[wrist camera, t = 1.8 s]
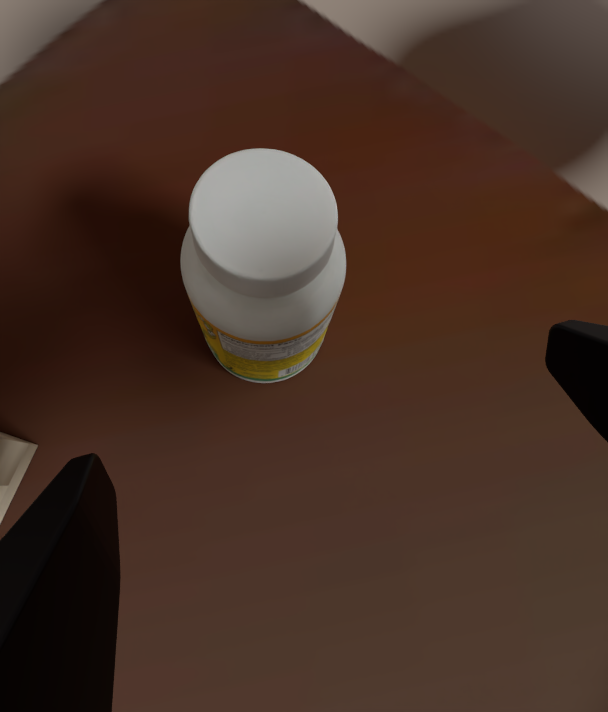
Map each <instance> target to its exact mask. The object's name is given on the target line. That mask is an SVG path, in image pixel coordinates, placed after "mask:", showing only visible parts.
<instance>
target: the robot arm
mask: <svg viewBox="0 0 608 712" xmlns="http://www.w3.org/2000/svg"><path fill="white" fill-rule="evenodd" d="M545 362H546V366H547V368H548V370H549V372H550V373H551V374H552V376H553V377H554V378H555V380H556V381H557V382H558V383H559V385H560V386H561V387H562V388H563V390H564V391H565V392H566V393H567V395H568V396H569V397H570V399H571V400H572V401H573V402H574V404H575V405H576V406H577V407H578V409H579V410H580V411H581V413H582V414H583V415H584V416H585V418H586V419H587V420H588V421H589V422H590V424H591V425H592V426H593V427H594V428H595V429H596V430H597V431H598V433H599V434H600V435H601V436H602V437H603V438H604V439H605V440H606V441H607V442H608V326H605V325H599V324H593V323H588V322H582V321H577V320H568V321H565V322H561V323H558V324H555V325H553V326H552V327H551V329H550V330H549V336H548V343H547V350H546V357H545ZM119 595H120V555H119V537H118V519H117V501H116V493H115V489H114V486H113V484H112V482H111V480H110V478H109V476H108V474H107V472H106V470H105V468H104V466H103V464H102V462H101V460H100V458H99V457H98V455H97V454H94V453H90V454H87V455H83V456H79V457H76V458H73V459H71V460H70V461H69V462H68V463H67V464H66V465H65V466H64V467H63V469H62V470H61V471H60V472H59V473H58V474H57V475H56V477H55V478H54V479H53V480H52V481H51V482H50V484H49V485H48V486H47V487H46V488H45V489H44V491H43V492H42V493H41V494H40V495H39V496H38V497H37V499H36V500H35V501H34V502H33V503H32V504H31V506H30V507H29V508H28V509H27V510H26V511H25V512H24V514H23V515H22V516H21V517H20V518H19V519H18V521H17V522H16V523H15V524H14V525H13V526H12V528H11V529H10V530H9V531H8V532H7V533H6V534H5V536H4V537H3V538H2V539H1V540H0V712H112V699H113V684H114V669H115V654H116V640H117V625H118V610H119Z"/></svg>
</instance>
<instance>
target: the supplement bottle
mask: <svg viewBox="0 0 608 712" xmlns="http://www.w3.org/2000/svg"><path fill="white" fill-rule="evenodd" d="M189 224H190V226H189V228H188V230H187V232H186V234H185V237H184V240H183V244H182V249H181V259H180V263H181V274H182V278H183V282H184V286H185V289H186V291H187V294H188V297H189V299H190V302H191V305H192V307H193V310H194V312H195V314H196V317H197V319H198V322H199V324H200V326H201V329H202V332H203V334H204V337H205V340H206V341H207V344H208V346H209V348H210V349H211V351H212V353H213V354H214V356H215V357H216V359H217V360H218V362H219V363H220V364H221V365H222V366H223V367H224V368H225V369H226V370H227V371H228V372H230V373H231V374H233V375H235V376H237V377H239V378H241V379H244V380H247V381H251V382H258V383H272V382H278V381H282V380H285V379H288V378H290V377H292V376H294V375H296V374H297V373H299V372H300V371H302V370H303V369H304V368H305V367H306V366H307V365H308V364H309V363H310V362H311V361H312V360H313V358H314V357H315V356H316V354H317V352H318V350H319V348H320V346H321V344H322V342H323V339H324V336H325V333H326V330H327V327H328V325H329V322H330V320H331V317H332V314H333V312H334V309H335V307H336V304H337V302H338V299H339V296H340V294H341V291H342V287H343V284H344V280H345V274H346V255H345V249H344V245H343V242H342V239H341V236H340V234H339V232H338V230H337V224H338V212H337V204H336V201H335V197H334V195H333V192H332V190H331V188H330V186H329V184H328V183H327V181H326V180H325V179H324V178H323V176H322V175H321V174H320V173H319V172H318V171H317V170H316V169H315V168H314V167H313V166H312V165H310V164H309V163H307V162H306V161H304V160H303V159H301V158H299V157H297V156H295V155H292V154H289V153H287V152H283V151H279V150H274V149H263V148H259V149H248V150H243V151H238V152H235V153H232V154H229V155H227V156H225V157H223V158H222V159H220V160H218V161H217V162H215V163H214V164H213V165H212V166H210V167H209V168H208V169H207V170H206V171H205V172H204V173H203V174H202V176H201V177H200V179H199V180H198V182H197V183H196V185H195V187H194V189H193V192H192V195H191V199H190V204H189Z"/></svg>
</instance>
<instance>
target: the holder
mask: <svg viewBox="0 0 608 712" xmlns="http://www.w3.org/2000/svg"><path fill="white" fill-rule="evenodd" d="M37 447H38V445H36V444H33V443H30V442H28V441H25V440H22V439H19V438H16V437H13V436H10V435H8V434H5V433H2V432H0V523H1V521H2V519H3V517H4V515H5V513H6V511H7V509H8V507H9V504H10V502H11V500H12V498H13V496H14V494H15V492H16V490H17V488H18V486H19V484H20V482H21V480H22V478H23V476H24V473H25V471H26V469H27V467H28V465H29V463H30V461H31V459H32V457H33V455H34V453H35V451H36V449H37Z"/></svg>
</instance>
